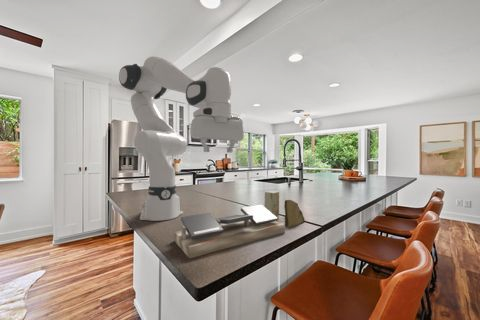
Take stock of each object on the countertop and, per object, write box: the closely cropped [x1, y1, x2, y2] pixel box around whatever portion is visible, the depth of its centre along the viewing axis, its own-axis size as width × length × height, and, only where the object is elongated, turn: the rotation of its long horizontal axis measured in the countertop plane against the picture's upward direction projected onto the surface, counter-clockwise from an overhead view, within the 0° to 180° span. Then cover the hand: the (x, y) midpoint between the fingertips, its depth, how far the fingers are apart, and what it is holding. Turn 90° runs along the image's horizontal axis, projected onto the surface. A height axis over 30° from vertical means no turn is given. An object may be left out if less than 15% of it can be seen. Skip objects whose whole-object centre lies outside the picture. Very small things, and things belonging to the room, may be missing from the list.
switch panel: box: [173, 210, 286, 259], centre depth 71 cm, size 14×36×6 cm, turn 124°
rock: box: [283, 199, 306, 228], centre depth 85 cm, size 11×9×10 cm
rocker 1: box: [180, 212, 223, 240], centre depth 64 cm, size 10×10×1 cm
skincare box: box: [264, 190, 280, 219], centre depth 91 cm, size 6×4×12 cm
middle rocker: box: [215, 214, 253, 224], centre depth 71 cm, size 10×10×1 cm
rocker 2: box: [240, 204, 279, 226], centre depth 77 cm, size 10×10×1 cm
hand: (218, 152), depth 74 cm, fingers open, 8 cm apart
